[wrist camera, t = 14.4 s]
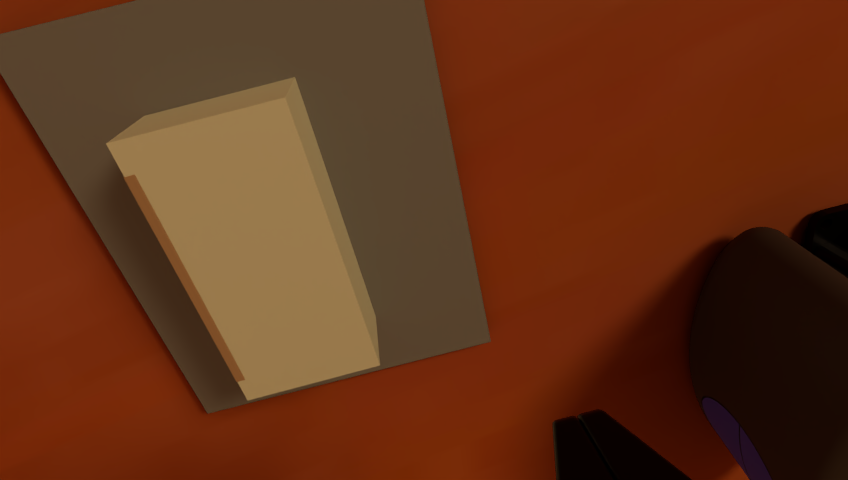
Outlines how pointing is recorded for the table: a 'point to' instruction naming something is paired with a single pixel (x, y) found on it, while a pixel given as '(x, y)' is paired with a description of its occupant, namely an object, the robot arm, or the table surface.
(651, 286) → the table surface
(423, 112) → the mat
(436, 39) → the table surface
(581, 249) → the table surface
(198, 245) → the block
